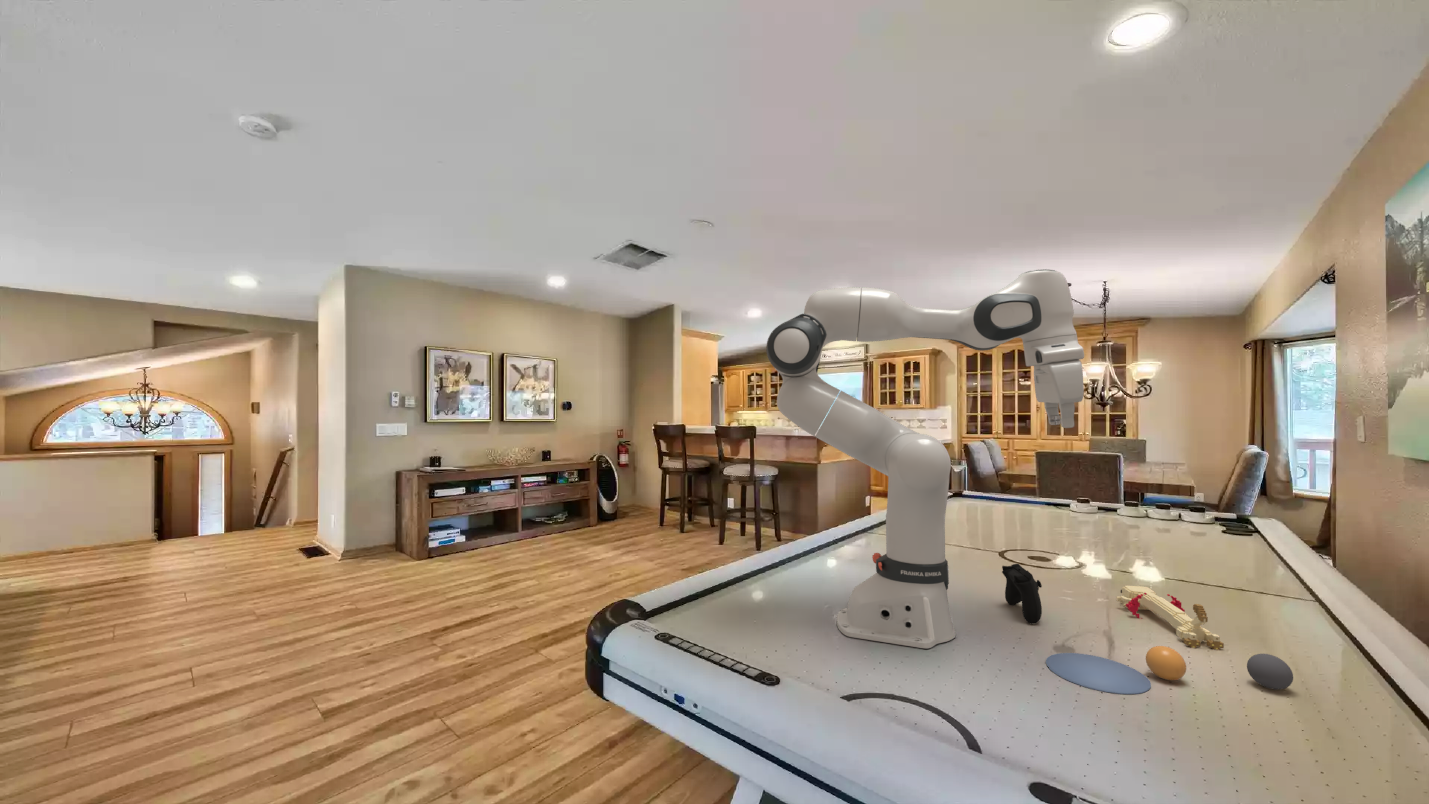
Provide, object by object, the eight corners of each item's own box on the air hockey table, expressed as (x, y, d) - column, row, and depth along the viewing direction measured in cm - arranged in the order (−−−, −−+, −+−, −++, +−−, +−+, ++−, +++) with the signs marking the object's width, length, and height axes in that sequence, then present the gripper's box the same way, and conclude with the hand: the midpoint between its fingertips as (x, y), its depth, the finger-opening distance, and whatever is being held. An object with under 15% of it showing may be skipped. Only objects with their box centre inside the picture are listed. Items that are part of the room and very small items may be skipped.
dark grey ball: (1263, 694, 81) (1262, 660, 81) (1238, 678, 86) (1237, 646, 86) (1303, 697, 80) (1302, 663, 80) (1276, 681, 85) (1274, 649, 85)
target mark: (1067, 689, 82) (1067, 687, 82) (1033, 650, 96) (1033, 649, 96) (1172, 698, 79) (1172, 697, 79) (1121, 658, 93) (1121, 656, 93)
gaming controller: (1053, 627, 107) (1051, 577, 107) (1020, 625, 108) (1019, 575, 108) (1026, 604, 121) (1025, 559, 121) (997, 602, 122) (997, 558, 122)
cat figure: (1237, 659, 96) (1153, 601, 120) (1238, 611, 96) (1154, 563, 120) (1173, 654, 98) (1104, 598, 122) (1174, 607, 98) (1104, 561, 122)
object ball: (1157, 684, 84) (1156, 652, 84) (1139, 670, 89) (1138, 639, 89) (1194, 687, 83) (1193, 655, 83) (1174, 673, 87) (1173, 642, 88)
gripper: (1022, 359, 113) (1031, 424, 112) (1044, 353, 94) (1055, 431, 93) (1056, 355, 110) (1066, 421, 110) (1086, 347, 91) (1097, 427, 91)
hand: (1061, 426), depth 101 cm, fingers open, 8 cm apart
